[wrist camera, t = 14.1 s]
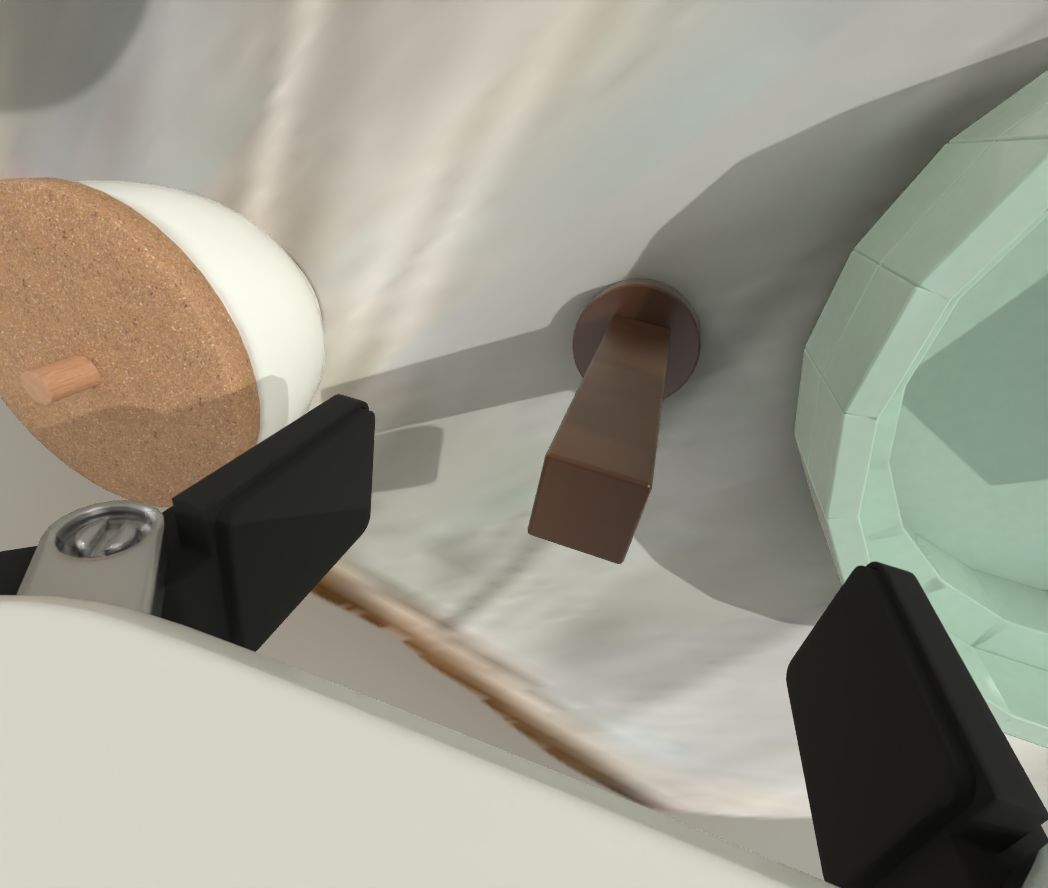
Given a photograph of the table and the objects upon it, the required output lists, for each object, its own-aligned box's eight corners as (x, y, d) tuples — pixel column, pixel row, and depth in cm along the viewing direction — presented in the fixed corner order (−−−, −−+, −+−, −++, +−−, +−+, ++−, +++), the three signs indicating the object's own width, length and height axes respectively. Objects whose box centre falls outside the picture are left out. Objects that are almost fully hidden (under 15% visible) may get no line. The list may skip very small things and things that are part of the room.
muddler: (566, 377, 21) (463, 559, 11) (593, 264, 18) (493, 375, 9) (676, 409, 20) (663, 628, 11) (718, 296, 18) (748, 449, 8)
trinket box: (271, 450, 27) (96, 573, 19) (116, 264, 24) (-166, 317, 16) (419, 357, 22) (265, 470, 14) (247, 107, 19) (-68, 72, 11)
